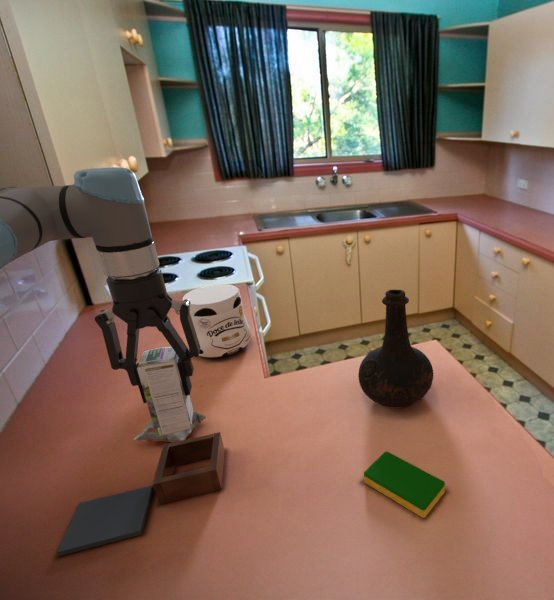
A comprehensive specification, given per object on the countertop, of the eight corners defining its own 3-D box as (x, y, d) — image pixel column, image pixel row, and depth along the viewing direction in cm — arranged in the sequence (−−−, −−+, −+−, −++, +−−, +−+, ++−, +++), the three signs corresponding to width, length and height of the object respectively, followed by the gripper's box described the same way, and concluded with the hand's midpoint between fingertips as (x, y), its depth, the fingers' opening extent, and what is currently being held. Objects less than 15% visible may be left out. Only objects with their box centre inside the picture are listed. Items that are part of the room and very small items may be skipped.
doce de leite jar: (235, 365, 120) (222, 307, 113) (179, 361, 123) (164, 305, 115) (262, 336, 136) (253, 283, 128) (213, 333, 138) (201, 281, 131)
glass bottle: (349, 387, 109) (340, 286, 97) (411, 368, 116) (409, 272, 105) (379, 429, 94) (372, 315, 83) (447, 404, 101) (449, 297, 90)
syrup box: (161, 417, 79) (140, 350, 74) (195, 410, 81) (177, 344, 75) (156, 437, 75) (134, 367, 69) (193, 429, 76) (174, 359, 71)
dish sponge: (424, 519, 73) (424, 509, 72) (363, 482, 81) (362, 472, 80) (445, 491, 78) (445, 481, 77) (386, 459, 86) (386, 450, 85)
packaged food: (186, 451, 89) (180, 432, 87) (135, 447, 91) (128, 428, 89) (208, 424, 97) (204, 406, 95) (161, 420, 99) (155, 403, 97)
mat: (59, 556, 69) (56, 552, 68) (81, 506, 77) (79, 502, 77) (142, 534, 72) (140, 530, 71) (154, 489, 81) (152, 485, 80)
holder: (159, 504, 77) (152, 484, 75) (169, 463, 86) (163, 444, 84) (221, 489, 80) (216, 469, 78) (224, 450, 89) (220, 432, 87)
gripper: (201, 258, 72) (226, 373, 81) (72, 271, 67) (114, 393, 76) (196, 272, 65) (223, 396, 75) (52, 288, 60) (101, 419, 70)
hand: (168, 394), depth 75 cm, fingers closed on syrup box, 6 cm apart
